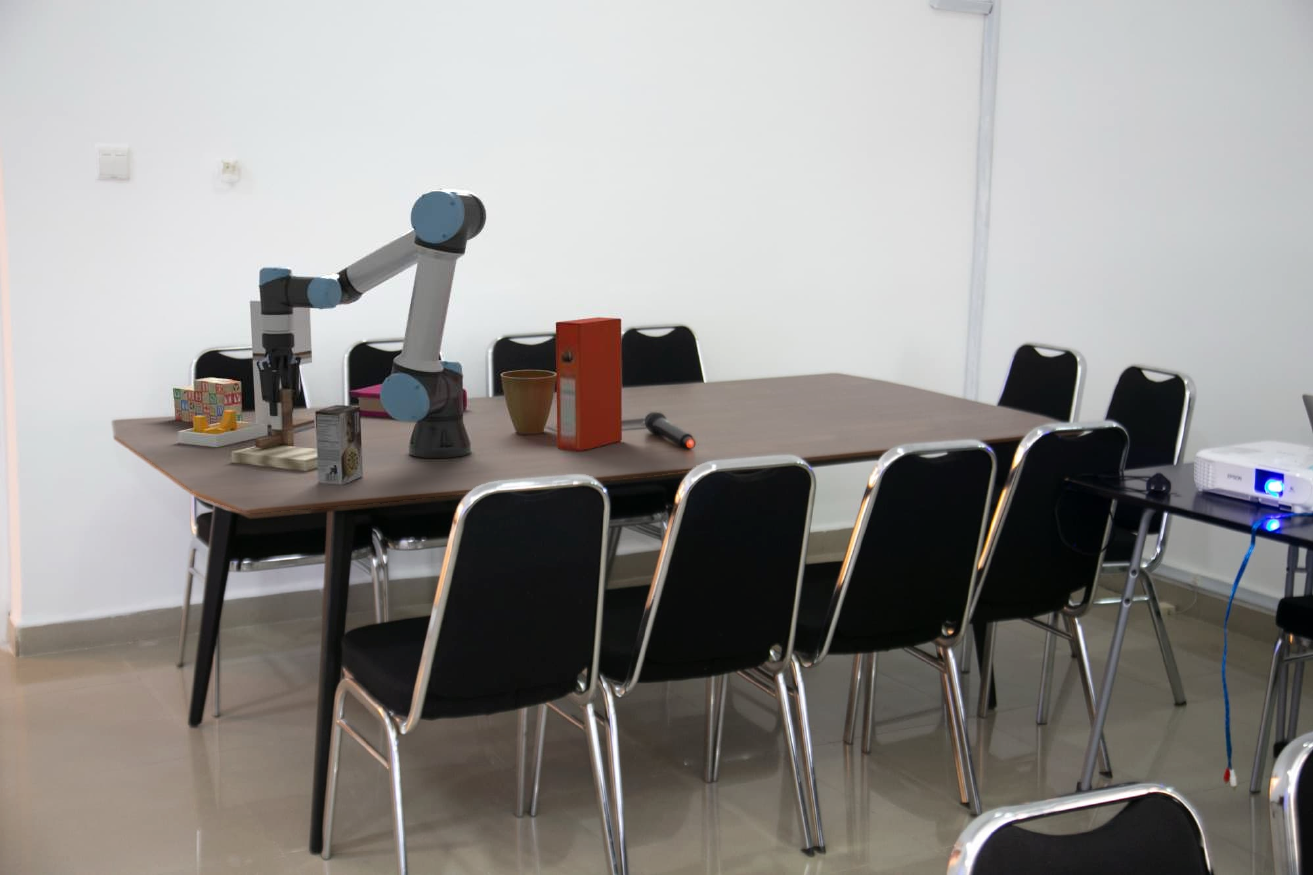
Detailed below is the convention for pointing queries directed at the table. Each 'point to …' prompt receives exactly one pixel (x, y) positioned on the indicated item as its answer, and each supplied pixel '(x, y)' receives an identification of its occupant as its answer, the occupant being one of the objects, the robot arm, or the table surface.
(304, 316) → the white column with cutout
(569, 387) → the file binder
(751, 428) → the table surface
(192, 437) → the clamp rest frame
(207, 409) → the stack of blocks
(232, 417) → the pipe clamp
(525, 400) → the plant pot
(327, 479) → the printed food box
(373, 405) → the book
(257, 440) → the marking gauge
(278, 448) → the pine board
